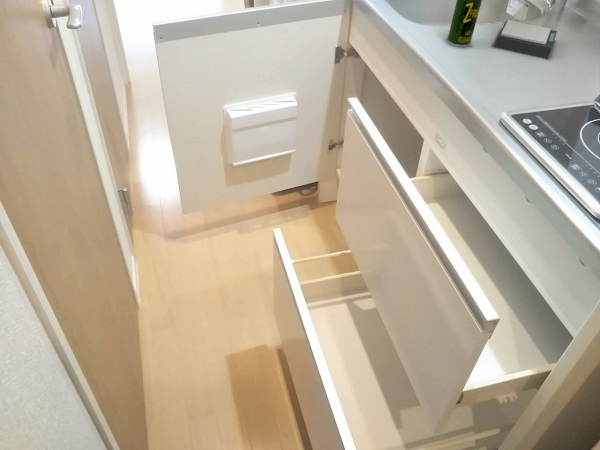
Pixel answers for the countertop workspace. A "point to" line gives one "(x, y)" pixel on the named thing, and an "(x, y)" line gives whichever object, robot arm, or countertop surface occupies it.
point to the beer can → (463, 22)
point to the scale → (526, 39)
